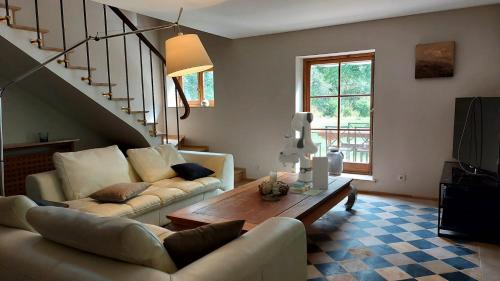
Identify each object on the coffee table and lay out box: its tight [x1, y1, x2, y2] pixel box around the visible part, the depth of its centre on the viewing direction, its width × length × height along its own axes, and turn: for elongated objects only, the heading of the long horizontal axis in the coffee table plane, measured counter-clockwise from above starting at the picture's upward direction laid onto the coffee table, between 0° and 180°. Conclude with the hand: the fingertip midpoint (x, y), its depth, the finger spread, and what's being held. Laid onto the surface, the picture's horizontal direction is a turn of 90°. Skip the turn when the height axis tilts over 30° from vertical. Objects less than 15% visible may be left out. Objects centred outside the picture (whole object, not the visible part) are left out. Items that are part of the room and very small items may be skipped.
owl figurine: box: [261, 179, 281, 202], centre depth 297 cm, size 18×12×17 cm, turn 52°
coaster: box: [292, 181, 306, 188], centre depth 324 cm, size 8×8×3 cm
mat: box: [302, 188, 325, 197], centre depth 316 cm, size 20×12×1 cm, turn 145°
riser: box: [289, 184, 311, 195], centre depth 323 cm, size 18×12×4 cm, turn 144°
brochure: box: [311, 156, 329, 190], centre depth 330 cm, size 14×6×30 cm, turn 84°
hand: (288, 167), depth 328 cm, fingers open, 8 cm apart
